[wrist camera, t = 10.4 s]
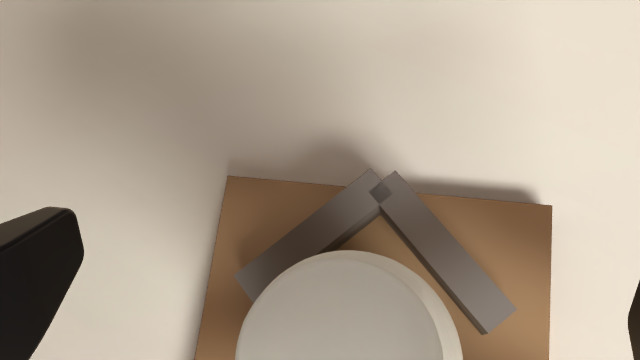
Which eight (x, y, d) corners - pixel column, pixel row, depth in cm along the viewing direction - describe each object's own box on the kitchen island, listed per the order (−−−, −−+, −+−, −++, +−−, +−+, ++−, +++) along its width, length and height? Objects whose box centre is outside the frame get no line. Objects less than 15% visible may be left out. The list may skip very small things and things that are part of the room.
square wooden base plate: (535, 581, 19) (556, 613, 16) (175, 513, 20) (147, 533, 18) (545, 203, 22) (563, 185, 20) (235, 175, 24) (217, 154, 21)
